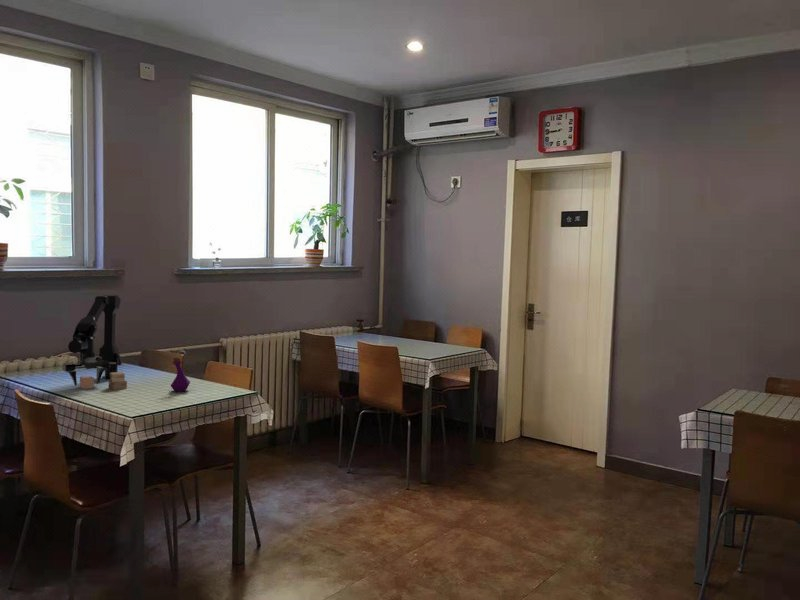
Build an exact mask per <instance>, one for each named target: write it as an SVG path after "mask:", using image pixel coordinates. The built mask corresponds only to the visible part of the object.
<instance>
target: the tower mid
mask: <svg viewBox="0 0 800 600" xmlns="http://www.w3.org/2000/svg"><path fill="white" fill-rule="evenodd" d="M125 378H126V375H125V373H124V372H123V371H118V372H113V373H110V378H109V381H111V382H123V381H126V380H125Z"/></svg>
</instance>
